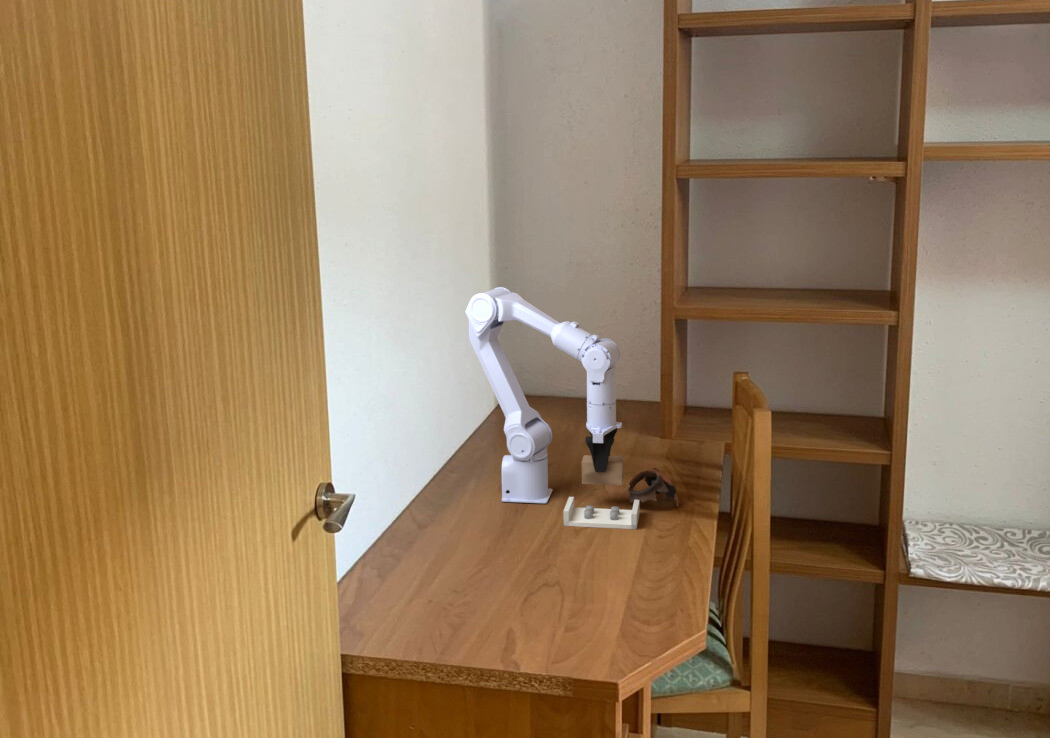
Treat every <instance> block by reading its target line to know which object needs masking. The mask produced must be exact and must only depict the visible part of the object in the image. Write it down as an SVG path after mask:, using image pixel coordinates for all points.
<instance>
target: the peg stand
mask: <svg viewBox="0 0 1050 738" xmlns="http://www.w3.org/2000/svg"><path fill="white" fill-rule="evenodd" d="M562 513H563V516H562V517H563V526H564V527H579V528H580V527H581V528H585V527H586V528H601V529H603V528H604V529H623V530H637V528H638V523H639V518H640V504H639V500H634V503H633V505H632V509H620V506H617V505H616V506H614V505H613V506H611V507H610V508H600V507H599V508H595V506H594V505H592V504H588V505H586V506H585V507H575V496H568V498H567V501H566V504H565V506H564V509H563V512H562Z"/></svg>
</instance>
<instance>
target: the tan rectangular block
mask: <svg viewBox="0 0 1050 738" xmlns="http://www.w3.org/2000/svg"><path fill="white" fill-rule="evenodd" d="M581 459H582V460H581V484H582V485H607V486H609V485H612V486H614V485H615V486H623V483H624V476H625V473H624V472H625V470H624V469H625V467H624V465H625V463H624V462H625V459H624V455H610V456H609V457H608V464H607V469H606V472H595V469H594V465H593V460H592V456H591V454H590V455H587V454H584V455H583V456H582V458H581Z"/></svg>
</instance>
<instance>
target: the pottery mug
mask: <svg viewBox="0 0 1050 738" xmlns="http://www.w3.org/2000/svg"><path fill="white" fill-rule="evenodd" d="M641 481H645V483H646V484H647V486H648V487H646V488H645V489H641V490H635V486H636V485H638V484H639V483H640V482H641ZM628 484H629V487H628V489H627V491H628V492H629V495H628V500H629V503H630V505H632V506H633V504H634V500H639V505H640V504H641V503H647V502H650V501H654V502H658V500H657V495H660V494H661V493H663V494H664V499H665V500H673V501H674V503H675V507H676V508H678V507H679V506H680V501H679V497H678V493H677V490H676V487H675V485H674V483H673V481H672V480H671V479H670V478H669V477H668V476H666V475H665V474H662V473H661V471H660V470H659V469H658V468H657V467H653V468H650V469H646V470H643V471H640V472H639V473H637V474H635V476H633V477H632V479H631V480H630V481H629V482H628Z"/></svg>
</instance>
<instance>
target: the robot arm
mask: <svg viewBox="0 0 1050 738" xmlns="http://www.w3.org/2000/svg"><path fill="white" fill-rule="evenodd" d="M464 313H465V314H466V317H467V319H468V339H469V342H470V345H471V347H472V349H473V352H474V353H475V355H476V358H477V360H478V362H479V364H480V366H481V368H482V370H483V373H484V374H485V377H486V379H487V381H488V383H489V385H490V387H491V390H492V392H493V393H494V396H495V399H496V400H497V402H498V404H499V407H500V408H501V411H502V412H503V415H504V418H505V421H504V426H503V432H504V434H505V437H506V447H507V450H508V452H509V454H505V455H503V457H502V461H501V502H503V503H504V502H505V503H522V504H523V503H525V504H528V503H529V504H548V502H549V499H550V498H551V495H552V493H553V489H552V488H550V487H549V474H548V473H549V471H548V470H549V469H548V468H549V467H548V464H549V459H548V446H549V445H550V444H551V442H552V439H553V432H552V429H551V427H550V425H549V424H548V423H547V422H545V420H544V419H543V418H542V417H541V414H540V413H539V411H537V410H536V409H534V408H533V407H531V406H530V405H529V401H527V398H526V396H525V394H524V391H523V389H522V388H521V385H520V383H519V381H518V378H517V377H516V375H515V373H514V370H513V368H512V366H511V364H510V361H509V359H508V358H507V355H506V354H505V351H504V349H503V346H502V345H501V343H500V340H499V335H500V332H501V330H502V327H503V324H504V323H505V322H510V321H511V322H512V321H518V322H520V323H522V324H523V325H525V326H527V327H529V328H532V329H534V330H536V331H538V332H539V333H542V334H544V335H546V336H548V337H549V338H551V342H552V344H553V346H554V347H555V348H557V349H558V350H560V351H562V352H564V353H566V354H567V355H568V356H570V357H572V358H574V359H576V360H578V361H579V362H581V364H582V366H583V368H584V370H585V371H586V424H585V427H586V429H587V430H588V432H589V435H590V436H587V435H586V436H585V444H586V445H587V447H588V450H589V453H590V455H591V456H592V460H593V465H594V469H595V472H606V469H607V464H608V457H609V456H611V451H612V446H613V444H614V442H615V436H616V434H617V432H618V429H621V428H623V423H622V422H619V421H617V378H616V377H617V375H616V374H617V373H616V371H617V370H616V364H618V362H619V361H620V357H621V352H620V349H619V346H618V345H617V344H616V343H615V342H614V341H613V340H612V339H611V338H600V336H599V335H598V334H592V333H590V332H588V331H587V330H585V329H583V328H582V327H580V323H579V322H577V321H575V320H574V321H572V322H571V321H569V320H567V321H563V322H559V321H558V320H556V319H554V318H553V317H552V316H550V315H549V314H547V313H545V312H543V311H542V310H540V308H537V307H536V306H534V305H533V304H532V303H530V302H529V301H526V300H525V299H523V297H521V295H519V293H516V292H511V290H509V289H508V288H506V287H503V286H499V287H495V288H493V289H490V290H487V291H485V292H479V293H477V294H474V295H473V296H472V297H471V298H470V300H469V302H468V304H467V307H466V309H465V312H464Z"/></svg>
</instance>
